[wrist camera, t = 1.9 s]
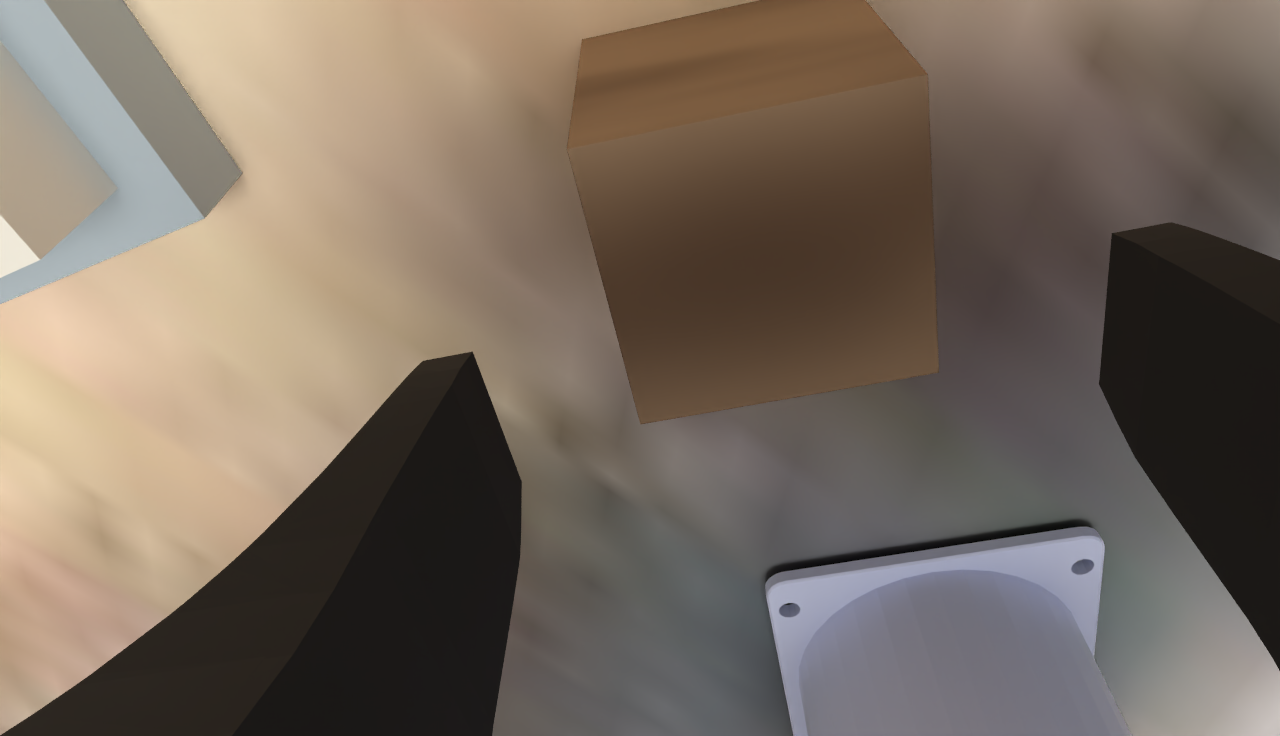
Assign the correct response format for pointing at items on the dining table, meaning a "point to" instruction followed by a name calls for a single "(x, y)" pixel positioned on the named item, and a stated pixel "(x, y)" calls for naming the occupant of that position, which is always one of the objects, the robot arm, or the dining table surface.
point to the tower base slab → (115, 129)
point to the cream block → (40, 172)
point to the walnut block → (759, 203)
